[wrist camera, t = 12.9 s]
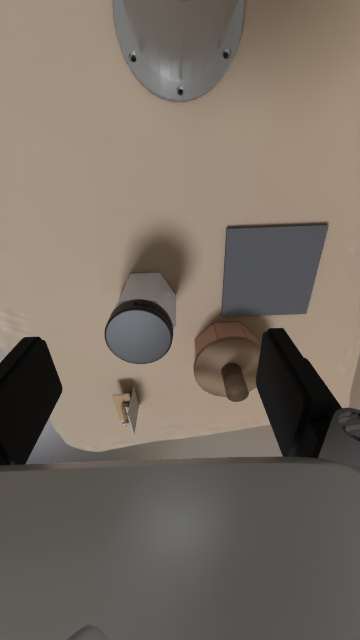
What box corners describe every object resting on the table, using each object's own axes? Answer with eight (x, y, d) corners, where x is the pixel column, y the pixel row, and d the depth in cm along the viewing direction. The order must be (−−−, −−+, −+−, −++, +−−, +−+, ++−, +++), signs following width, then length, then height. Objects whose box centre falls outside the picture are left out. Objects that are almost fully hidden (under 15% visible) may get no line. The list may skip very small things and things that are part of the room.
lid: (192, 338, 39) (195, 363, 34) (271, 334, 39) (286, 359, 33) (194, 393, 45) (196, 422, 40) (261, 390, 45) (273, 419, 40)
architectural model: (123, 405, 54) (116, 437, 48) (116, 381, 50) (108, 412, 44) (139, 404, 54) (134, 435, 48) (133, 380, 50) (127, 410, 44)
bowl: (194, 323, 43) (196, 340, 39) (258, 321, 43) (268, 337, 39) (194, 372, 49) (196, 391, 45) (251, 370, 49) (259, 389, 45)
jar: (184, 305, 41) (187, 349, 31) (143, 327, 44) (133, 375, 33) (153, 259, 38) (144, 292, 27) (110, 286, 40) (87, 326, 29)
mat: (226, 228, 35) (227, 228, 35) (326, 224, 35) (328, 225, 35) (221, 315, 43) (221, 316, 42) (304, 312, 42) (306, 313, 42)
